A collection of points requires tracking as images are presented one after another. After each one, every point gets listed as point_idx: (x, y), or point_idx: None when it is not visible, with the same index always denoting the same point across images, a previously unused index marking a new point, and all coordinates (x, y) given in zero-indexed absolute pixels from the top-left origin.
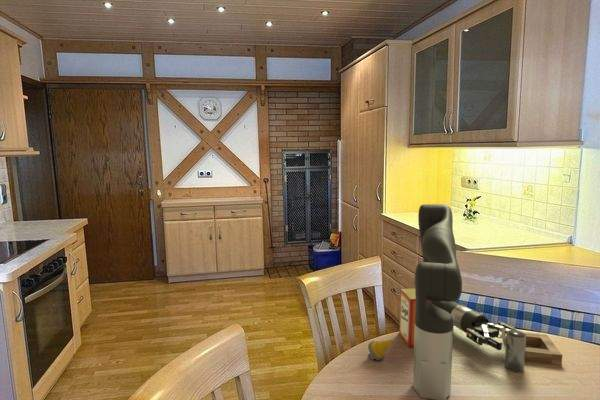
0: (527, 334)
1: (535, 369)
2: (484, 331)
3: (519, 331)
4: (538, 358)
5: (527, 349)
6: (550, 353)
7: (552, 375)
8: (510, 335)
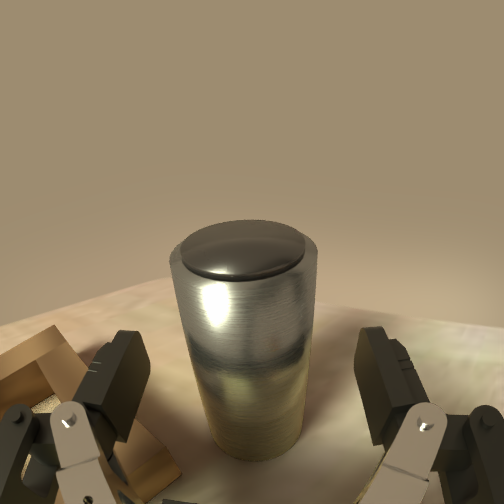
0: None
1: (177, 382)
2: (420, 482)
3: (187, 249)
4: None
5: None
6: (65, 346)
7: (166, 341)
8: (309, 248)
